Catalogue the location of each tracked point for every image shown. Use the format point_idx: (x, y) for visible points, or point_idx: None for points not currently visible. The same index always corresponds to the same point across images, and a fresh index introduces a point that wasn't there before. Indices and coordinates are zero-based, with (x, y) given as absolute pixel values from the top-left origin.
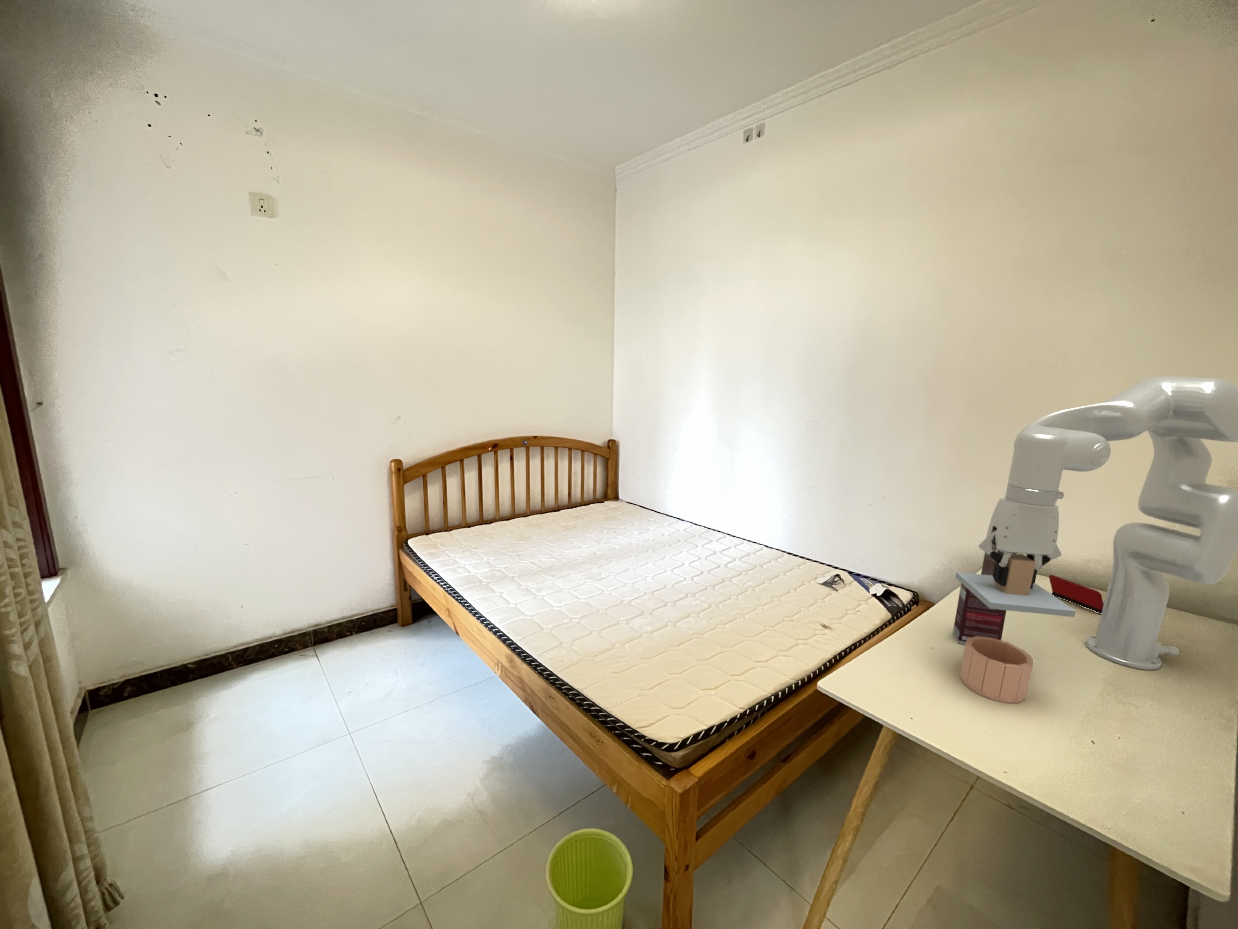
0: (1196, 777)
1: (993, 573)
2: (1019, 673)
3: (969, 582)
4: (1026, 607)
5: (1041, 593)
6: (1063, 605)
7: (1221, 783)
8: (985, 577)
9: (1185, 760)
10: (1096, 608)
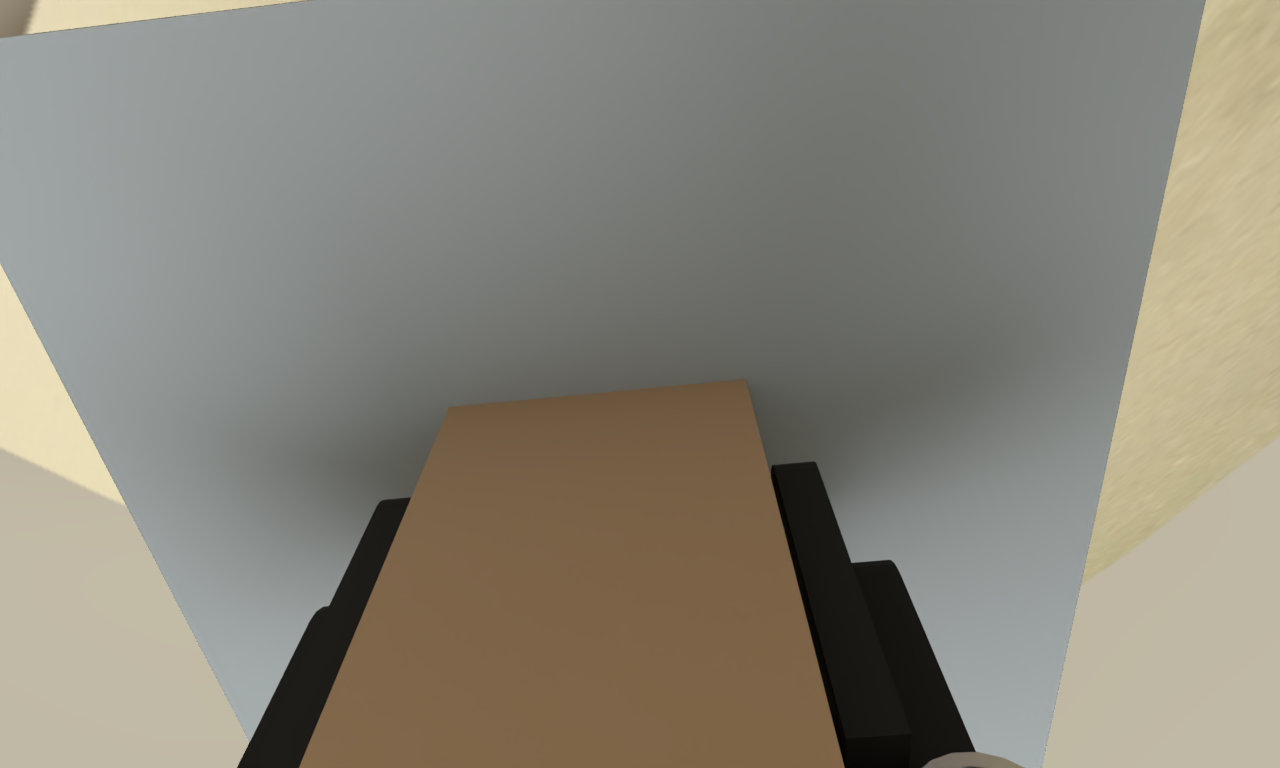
0: (1097, 516)
1: (303, 648)
2: None
3: (117, 439)
4: None
5: (974, 496)
6: (1008, 711)
7: (1157, 520)
8: (378, 142)
9: (1145, 446)
10: None
